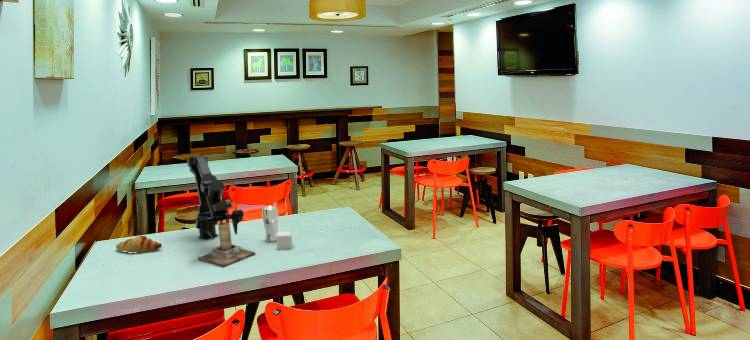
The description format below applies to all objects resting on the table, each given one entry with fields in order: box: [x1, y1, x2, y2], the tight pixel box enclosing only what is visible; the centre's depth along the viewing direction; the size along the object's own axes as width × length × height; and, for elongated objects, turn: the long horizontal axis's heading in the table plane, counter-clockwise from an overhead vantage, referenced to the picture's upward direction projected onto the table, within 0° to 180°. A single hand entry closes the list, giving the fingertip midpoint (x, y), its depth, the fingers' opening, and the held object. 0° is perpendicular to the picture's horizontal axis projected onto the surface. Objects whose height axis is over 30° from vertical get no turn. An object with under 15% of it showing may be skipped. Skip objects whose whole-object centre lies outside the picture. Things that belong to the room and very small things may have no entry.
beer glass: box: [261, 205, 279, 243], centre depth 211 cm, size 7×7×15 cm
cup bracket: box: [197, 244, 256, 268], centre depth 192 cm, size 16×16×4 cm
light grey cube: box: [276, 230, 293, 251], centre depth 202 cm, size 6×6×6 cm
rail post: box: [217, 222, 233, 252], centre depth 191 cm, size 4×4×13 cm
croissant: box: [115, 235, 162, 253], centre depth 204 cm, size 21×10×8 cm
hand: (225, 236), depth 191 cm, fingers open, 9 cm apart
